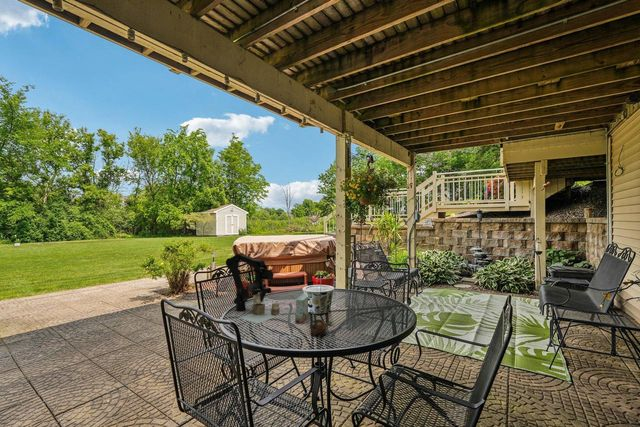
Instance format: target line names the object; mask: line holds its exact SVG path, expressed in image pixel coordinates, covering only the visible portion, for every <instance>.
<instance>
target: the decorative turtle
mask: <svg viewBox="0 0 640 427" xmlns="http://www.w3.org/2000/svg"><path fill="white" fill-rule="evenodd" d="M327 327H328V326H327V323H326V322H325V321H323V319H318V318H317V319H314V320H312V321H311V322H310V324H309V329H310V331H311V332H312V333H311V334H312V335H313V336H314V337H315V336H317V335H318V334H320V335H321V336H324V335H325V333H326V330H327Z"/></svg>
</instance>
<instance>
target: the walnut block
mask: <svg viewBox="0 0 640 427" xmlns="http://www.w3.org/2000/svg"><path fill="white" fill-rule="evenodd" d="M251 309H252V310H251V313H252V314H255V315H261V314H264V313H265V310H266V304H265V303H260V304H257V303H254V304H252V305H251Z"/></svg>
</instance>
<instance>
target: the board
mask: <svg viewBox="0 0 640 427" xmlns="http://www.w3.org/2000/svg"><path fill="white" fill-rule="evenodd" d="M280 315H282V313H279V315H276V316H274V315H271V310H266V309H265V313H264V314H261V315H255V314H252V312H251V313H249V314H245V315H242V316H239V317H238V318H239V319H241V320H245V321H247V322H252V323H254V324H260V323H263V322H265V321H268V320H271V319H273V318H275V317H278V316H280Z"/></svg>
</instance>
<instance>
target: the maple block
mask: <svg viewBox="0 0 640 427" xmlns="http://www.w3.org/2000/svg"><path fill="white" fill-rule="evenodd" d="M252 295H253V294H252ZM252 298H253V301H252V302H253V303H254V304H260V303H261V304H264V302H265V298H264V299H263V301H262V302H261V301H260V294H259V293H258V294H256V295H253V296H252Z"/></svg>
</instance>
